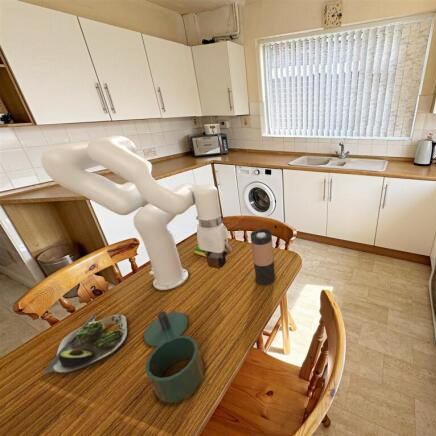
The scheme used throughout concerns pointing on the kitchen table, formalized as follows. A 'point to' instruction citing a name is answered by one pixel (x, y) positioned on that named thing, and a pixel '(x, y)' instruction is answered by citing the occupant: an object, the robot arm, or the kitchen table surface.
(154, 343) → the lid
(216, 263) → the block
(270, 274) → the travel mug
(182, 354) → the pot
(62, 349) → the salad plate
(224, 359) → the kitchen table surface
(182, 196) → the robot arm
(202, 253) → the dish sponge
